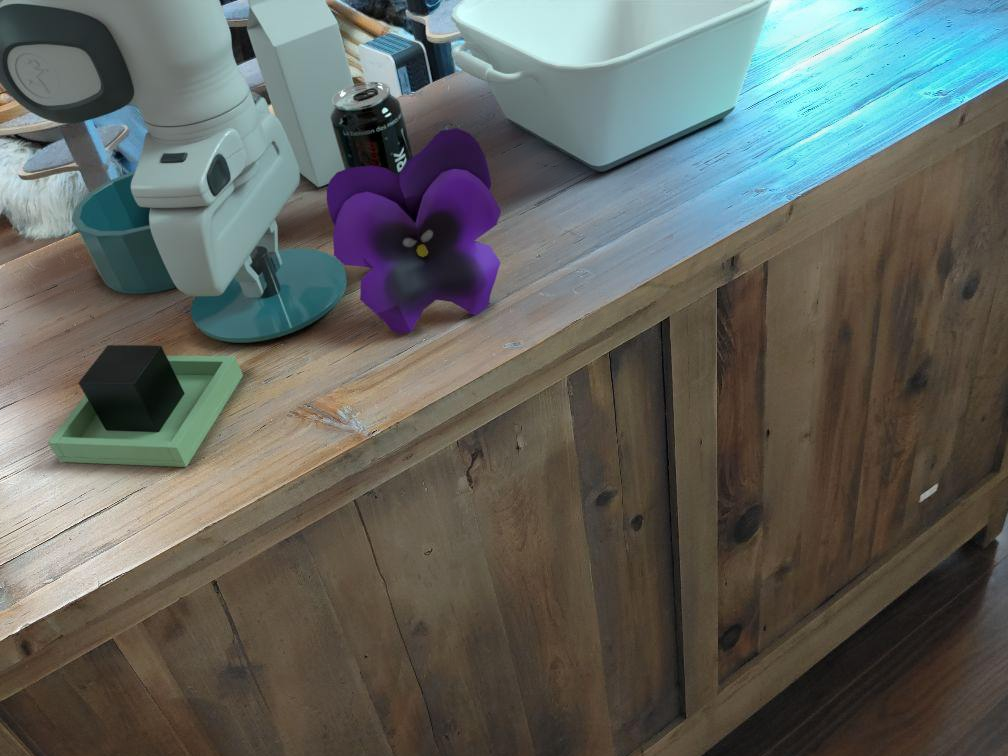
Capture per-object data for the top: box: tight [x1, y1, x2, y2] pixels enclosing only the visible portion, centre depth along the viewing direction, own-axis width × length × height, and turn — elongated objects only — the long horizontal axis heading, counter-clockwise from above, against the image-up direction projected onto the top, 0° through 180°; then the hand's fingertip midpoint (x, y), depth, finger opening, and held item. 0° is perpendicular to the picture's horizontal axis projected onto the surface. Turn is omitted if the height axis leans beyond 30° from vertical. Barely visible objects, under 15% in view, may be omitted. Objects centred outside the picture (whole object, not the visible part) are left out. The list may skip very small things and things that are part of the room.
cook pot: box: [71, 170, 177, 295], centre depth 101 cm, size 14×14×6 cm
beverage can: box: [331, 81, 414, 176], centre depth 99 cm, size 7×7×12 cm
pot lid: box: [190, 246, 348, 344], centre depth 93 cm, size 15×15×5 cm
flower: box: [326, 127, 502, 334], centre depth 90 cm, size 15×15×14 cm
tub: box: [450, 0, 773, 173], centre depth 106 cm, size 34×27×13 cm
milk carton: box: [246, 0, 355, 188], centre depth 106 cm, size 7×7×19 cm
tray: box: [47, 354, 244, 468], centre depth 84 cm, size 12×12×2 cm
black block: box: [78, 344, 185, 432], centre depth 82 cm, size 5×5×5 cm
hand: (264, 281), depth 93 cm, fingers closed on pot lid, 2 cm apart
